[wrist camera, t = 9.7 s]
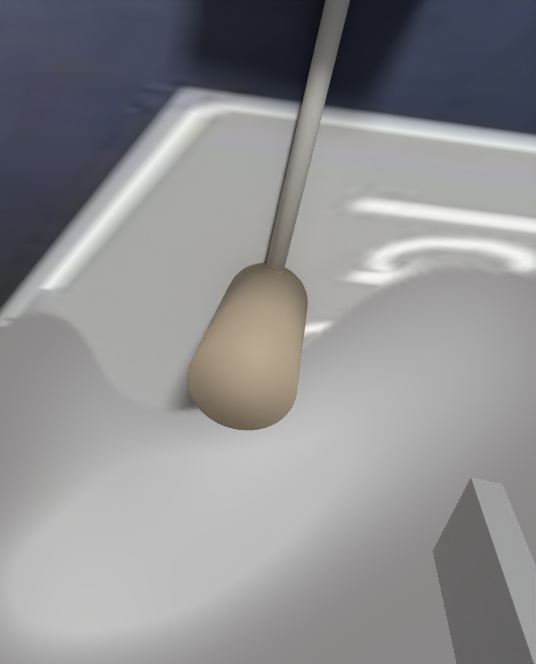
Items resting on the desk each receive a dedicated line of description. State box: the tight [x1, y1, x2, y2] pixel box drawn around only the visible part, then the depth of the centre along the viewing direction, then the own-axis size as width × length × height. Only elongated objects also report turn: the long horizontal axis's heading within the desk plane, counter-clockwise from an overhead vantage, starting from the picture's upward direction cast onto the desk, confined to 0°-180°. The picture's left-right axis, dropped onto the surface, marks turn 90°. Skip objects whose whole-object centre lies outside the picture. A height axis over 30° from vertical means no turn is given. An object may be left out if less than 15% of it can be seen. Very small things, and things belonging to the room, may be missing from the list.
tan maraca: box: [187, 0, 350, 430], centre depth 13 cm, size 6×21×6 cm, turn 168°
